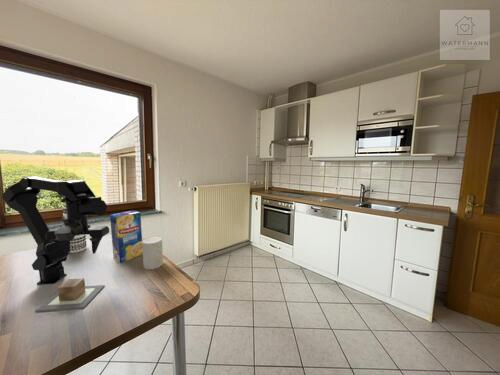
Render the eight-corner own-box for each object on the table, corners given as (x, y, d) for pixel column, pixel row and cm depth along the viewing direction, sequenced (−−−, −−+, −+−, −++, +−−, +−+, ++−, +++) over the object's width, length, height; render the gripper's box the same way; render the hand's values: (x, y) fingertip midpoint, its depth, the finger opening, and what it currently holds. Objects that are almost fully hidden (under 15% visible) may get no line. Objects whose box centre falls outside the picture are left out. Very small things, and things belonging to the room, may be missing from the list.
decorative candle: (87, 244, 118) (83, 201, 115) (88, 249, 111) (83, 203, 108) (66, 248, 112) (61, 203, 109) (65, 254, 105) (59, 206, 102)
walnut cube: (59, 301, 70) (57, 287, 69) (70, 292, 74) (68, 279, 74) (75, 300, 70) (74, 286, 69) (85, 291, 75) (84, 278, 74)
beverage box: (143, 254, 106) (140, 212, 103) (119, 263, 97) (116, 217, 94) (136, 251, 110) (133, 210, 107) (113, 259, 101) (109, 214, 98)
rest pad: (35, 311, 66) (35, 309, 66) (64, 288, 77) (63, 287, 77) (83, 308, 67) (83, 306, 67) (104, 286, 79) (104, 284, 79)
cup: (155, 270, 91) (154, 244, 89) (139, 268, 92) (137, 242, 91) (166, 261, 99) (165, 237, 97) (151, 260, 100) (150, 236, 99)
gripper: (29, 221, 68) (34, 265, 70) (90, 219, 71) (94, 262, 73) (55, 212, 79) (60, 251, 81) (108, 211, 82) (111, 249, 84)
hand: (81, 254), depth 79 cm, fingers open, 9 cm apart
